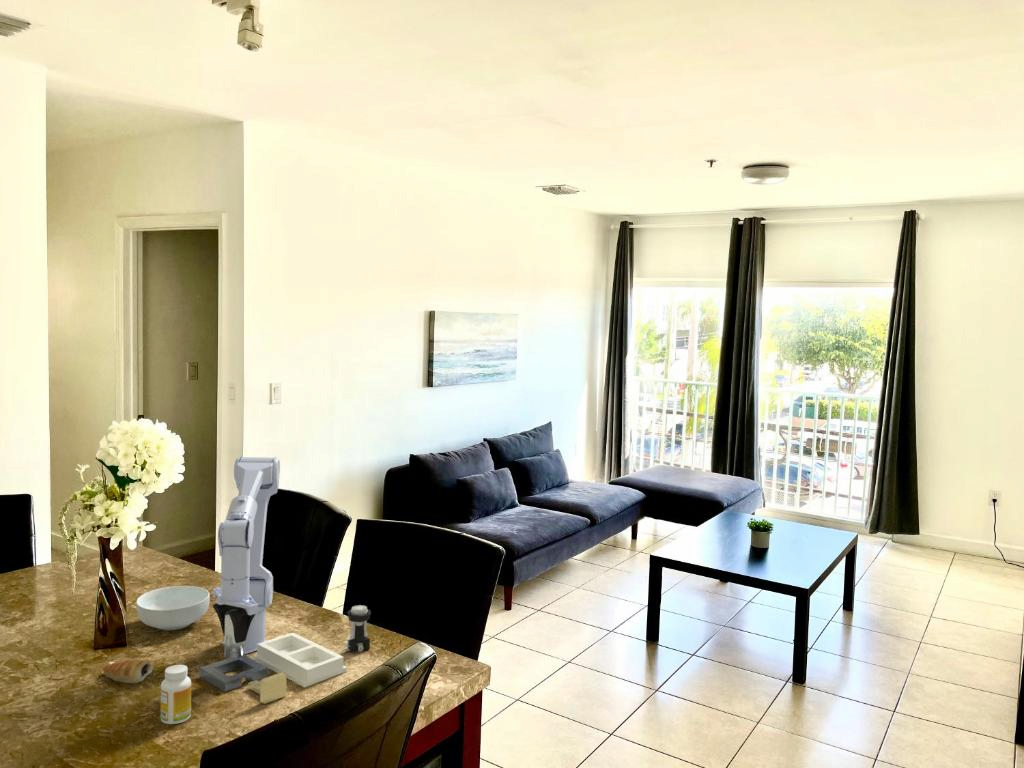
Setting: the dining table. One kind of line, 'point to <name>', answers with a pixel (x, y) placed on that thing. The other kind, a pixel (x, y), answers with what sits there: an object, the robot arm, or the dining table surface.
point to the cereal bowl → (172, 606)
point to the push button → (358, 629)
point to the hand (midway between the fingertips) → (234, 638)
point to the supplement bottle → (176, 695)
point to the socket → (224, 682)
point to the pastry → (128, 670)
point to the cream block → (270, 687)
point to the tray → (299, 659)
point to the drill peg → (231, 640)
